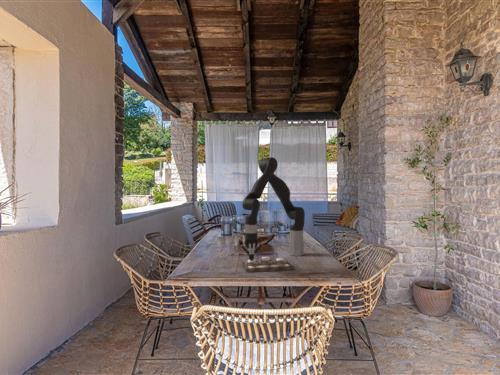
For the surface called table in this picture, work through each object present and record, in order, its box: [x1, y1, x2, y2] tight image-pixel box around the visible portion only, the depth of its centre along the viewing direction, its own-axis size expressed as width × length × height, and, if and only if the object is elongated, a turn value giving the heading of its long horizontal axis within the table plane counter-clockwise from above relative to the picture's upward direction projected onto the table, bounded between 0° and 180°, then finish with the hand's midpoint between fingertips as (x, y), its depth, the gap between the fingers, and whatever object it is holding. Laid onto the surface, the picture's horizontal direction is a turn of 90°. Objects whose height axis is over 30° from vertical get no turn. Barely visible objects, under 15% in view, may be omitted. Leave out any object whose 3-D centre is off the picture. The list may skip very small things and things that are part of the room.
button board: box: [241, 257, 294, 273], centre depth 227 cm, size 28×16×4 cm, turn 101°
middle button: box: [261, 256, 271, 261], centre depth 229 cm, size 5×5×2 cm
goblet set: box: [216, 234, 252, 256], centre depth 263 cm, size 28×6×13 cm, turn 92°
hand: (251, 260), depth 227 cm, fingers closed
